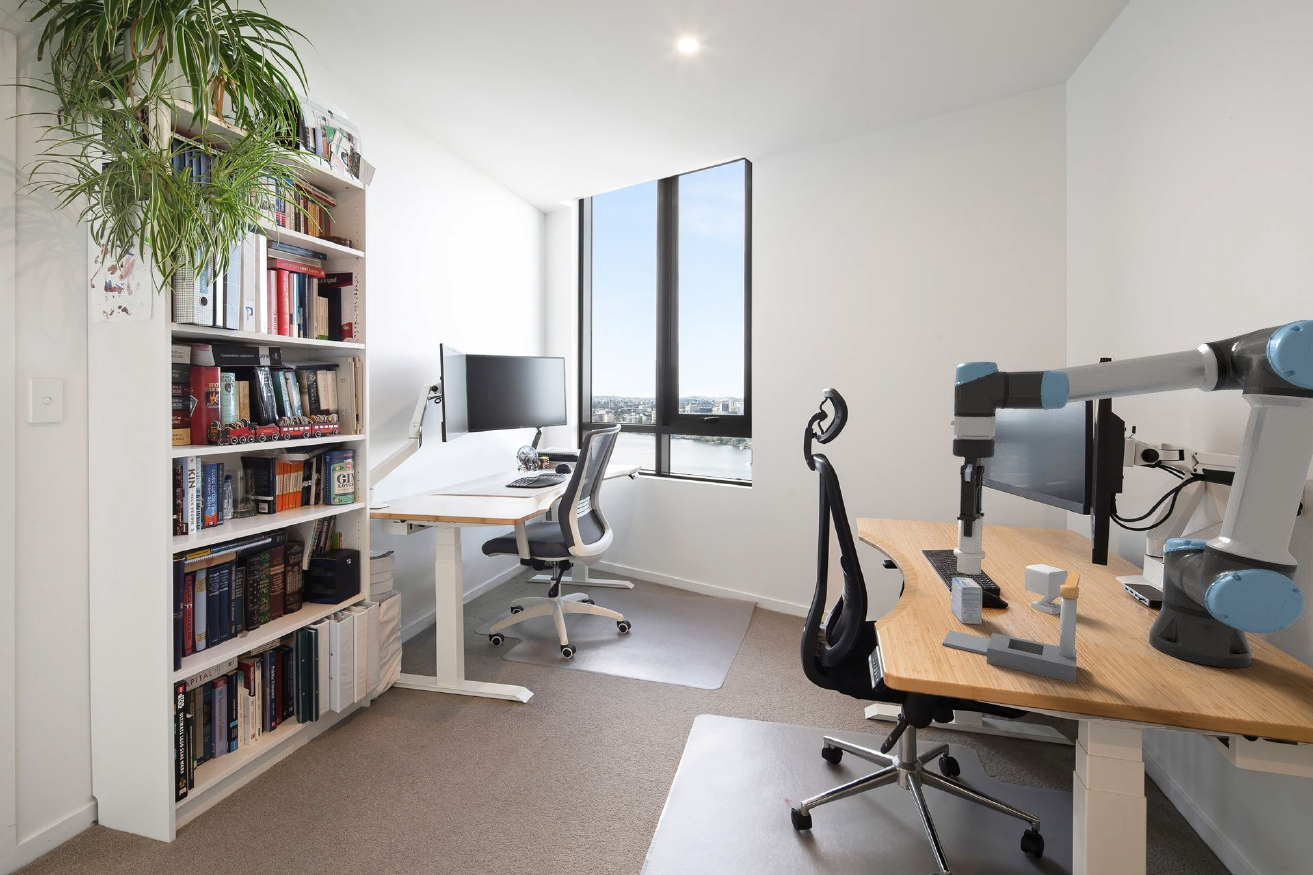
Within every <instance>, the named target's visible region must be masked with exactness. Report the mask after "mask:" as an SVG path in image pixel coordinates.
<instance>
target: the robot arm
mask: <svg viewBox="0 0 1313 875" xmlns="http://www.w3.org/2000/svg"><path fill="white" fill-rule="evenodd" d="M1190 389H1199V390H1201V391H1202V392H1205V393H1207V392H1215V391H1216V392H1217V391H1238V390H1239V391H1242V393H1241V397H1242V398H1243V400H1245V401H1246V402H1247V403H1248V405H1249V406H1250V411H1249V415H1248V418H1247V422H1246V426H1245V432H1244V435H1243V439H1242V443H1241V446H1240V452H1239V455H1238V459H1237V464H1236V467H1235V473H1234V475H1233V480H1232V483H1231V484H1232V485H1231V488H1230V491H1229V496H1228V501H1227V505H1226V508H1225V512H1224V516H1223V521H1222V526H1221V529H1220V533H1219V535H1218V536H1217V537H1214V538H1213V539H1201V538H1189V537H1188V538H1187V537H1172V538H1169V539H1167V541H1166V542H1165V548H1164V550H1163V553H1162V554H1163V577H1162V579H1163V580H1162V602H1161V609H1160V611H1159V612H1158V614H1157V616H1156V618H1155V619H1154V622H1153V624H1152V626H1151V627H1150V630H1149V634H1148V635H1149V638H1148V641H1149V644H1150V645H1151V646H1152V647H1154V648H1155V649H1156V650H1158V651H1161V652H1162V653H1164V654H1167V655H1170V656H1173V657H1175V658H1178V659H1180V660H1185V661H1188V662H1191V663H1195V664H1196V663H1197V664H1200V665H1205V666H1211V667H1217V668H1218V667H1219V668H1226V669H1227V668H1229V669H1230V668H1231V669H1239V668H1240V669H1242V668H1247V667H1249V666H1251V665H1252V659H1253V658H1252V655H1253V652H1252V649H1251V647H1250V644H1249V641H1248V638H1247V635H1246V633H1251V634H1270V633H1275V632H1277V631H1280V630H1283V629H1286V628H1289V627H1290V626H1292V625H1293V624H1294V623H1295V622H1297V620H1299V618H1300V617H1301V616H1302V613H1303V610H1304V609H1305V598H1304V596H1303V592H1302V591H1301V590H1300V588H1299V587H1298V585H1297V584H1296V583H1295V581H1294V580H1295V576H1296V573H1297V568H1298V561H1297V559H1296V558H1294V556H1292V554H1291V553H1290V552H1289V546H1290V542H1291V537H1292V534H1293V531H1294V526H1295V524H1296V519H1297V515H1298V511H1299V508H1300V505H1301V500H1302V496H1303V492H1304V488H1305V485H1306V481H1307V477H1308V474H1309V470H1310V466H1311V461H1312V458H1313V319H1300V320H1296V321H1292V322H1289V323H1285V324H1282V325H1276V326H1271V327H1266V328H1261V329H1258V330H1253V331H1251V332H1248V333H1247V332H1246V333H1244V334H1241V335H1236V336H1233V337H1230V338H1229V337H1228V338H1225V339H1221V340H1215V341H1211V342H1203V343H1199V344H1197V345H1196V346H1195V347H1194V348H1193V349H1191V350H1184V351H1176V352H1169V353H1162V354H1154V355H1147V356H1140V357H1133V358H1126V359H1118V360H1112V361H1105V362H1099V363H1098V362H1096V363H1090V364H1082V365H1076V366H1069V367H1063V368H1062V367H1061V368H1055V369H1054V368H1053V369H1047V370H1033V371H1032V370H1024V371H1000V370H999V368H998V364H997V363H996V362H995V361H968V362H962V363H959V365H957V366H956V368H955V379H954V401H953V402H954V403H953V404H954V407H953V410H954V411H953V412H954V414H953V416H954V417H953V419H954V420H951V422H950V425H951V426H954V427H953V435H954V436H956V437H955V438H954V439H953V440H952V455H953V456H954V457H958V458H959V457H960V458H964V463H963V464H962V465H960V468H959V470H960V472H959V473H960V474H959V475H960V503H959V504H960V505H959V509H960V511H959V516H956V518H957V519H956V520H957V521H959V520H961V541H960V551H961V552H968V553H976V526H977V521H975V520H976V514H979V515H981V517H982V518H983V517H984V516H985V512H982V511H983V507H982V500H983V498H982V497H983V484H984V473H985V469H986V468H985V465H982V459H990V458H993V457H994V456H995V442H996V441H995V440H994V439H993V437H995V436H996V427H997V424H996V422H997V417H996V411H997V410H999V409H1000V410H1005V409H1006V410H1007V409H1008V410H1009V409H1011V410H1044V411H1047V410H1060V409H1063V408H1065V407H1066V405H1067V404H1069V403H1077V402H1086V401H1087V402H1088V401H1094V400H1104V399H1105V400H1106V399H1112V398H1113V399H1115V398H1122V397H1129V396H1139V395H1145V394H1146V395H1147V394H1154V393H1165V392H1173V391H1174V392H1175V391H1180V390H1190ZM969 513H970V514H969ZM1245 632H1246V633H1245Z"/></svg>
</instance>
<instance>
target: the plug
mask: <svg viewBox="0 0 1313 875" xmlns="http://www.w3.org/2000/svg"><path fill="white" fill-rule="evenodd" d="M969 514H970V513H969ZM983 520H984V518H983V517H981V515H979V514H976V520H975V521H977V526H976V553H968V552H961V551H960V541H961V520H958V527H957V530H958V531H957V547H955V548H953V556H955V557H956V558H957V559H956V562H957V563H956V571H957V572H959V573H962V574H967V575H981V574H982V560H984V559H986V552H985V551H984V550H982V549H983V548H982V547H983V529H984V528H983V525H984V524H983V522H984V521H983Z"/></svg>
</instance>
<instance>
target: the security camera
mask: <svg viewBox="0 0 1313 875" xmlns="http://www.w3.org/2000/svg"><path fill="white" fill-rule="evenodd" d="M1068 573H1069V571H1067V570H1065V569H1061V568H1059V567H1058V568H1057V567H1054V566H1051V565H1047V564H1045V563H1037V564H1032V565H1031V564H1029V565H1026V566H1025V572H1024V590H1025V591H1026V592H1027V591H1029V592H1032V593H1034V594H1036V595H1037V594H1038V595H1041V596H1043V598H1042V599H1040V600H1035V601H1031V605H1030V606H1031V608H1033V609H1036V610H1038V611H1042V612H1044V613H1046V614H1049V615H1059V614H1061V603H1058V602H1054V600H1056V599H1057V598H1060V597H1061V596H1060V585H1065V582H1066V579H1067V576H1068Z"/></svg>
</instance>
